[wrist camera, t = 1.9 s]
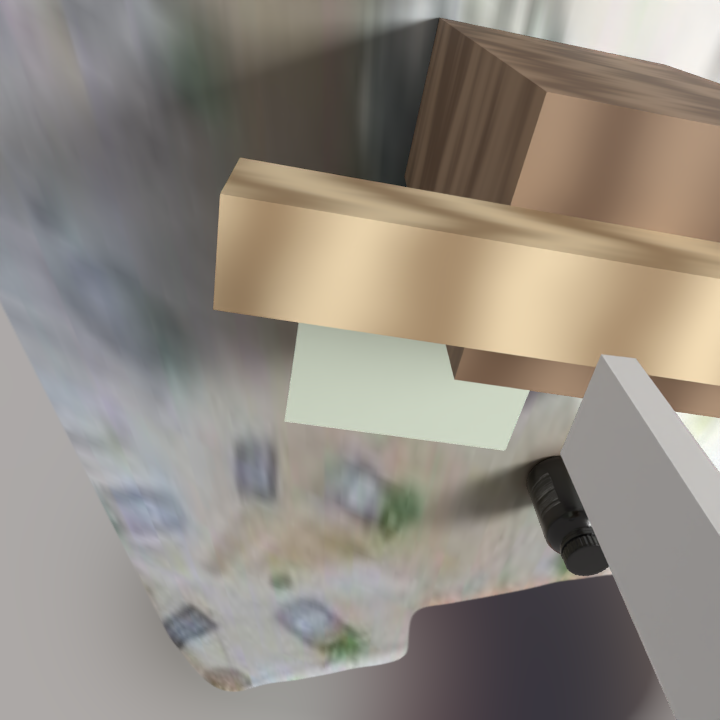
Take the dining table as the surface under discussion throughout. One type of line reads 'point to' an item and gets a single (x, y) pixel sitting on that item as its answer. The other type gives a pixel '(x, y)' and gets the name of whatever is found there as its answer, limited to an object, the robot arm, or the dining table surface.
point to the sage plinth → (394, 390)
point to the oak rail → (464, 272)
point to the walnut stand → (568, 160)
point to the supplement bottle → (564, 518)
